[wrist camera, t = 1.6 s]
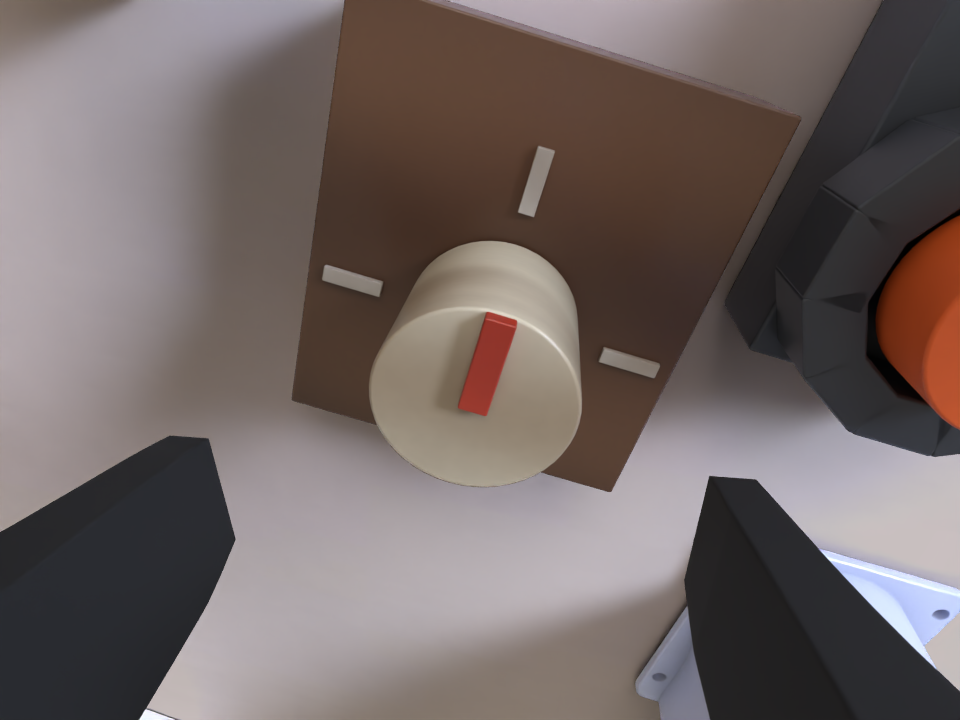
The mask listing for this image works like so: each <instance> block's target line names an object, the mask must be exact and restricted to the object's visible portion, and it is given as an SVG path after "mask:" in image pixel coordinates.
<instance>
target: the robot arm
mask: <svg viewBox="0 0 960 720" xmlns="http://www.w3.org/2000/svg"><path fill="white" fill-rule="evenodd" d="M234 542H235V535H234V532H233V528H232V524H231V520H230V517H229V513H228V509H227V505H226V502H225V498H224V494H223V491H222V487H221V483H220V479H219V476H218V472H217V468H216V464H215V461H214V457H213V453H212V449H211V446H210V442H209V439H208V438H194V437H181V436H168V437H166V438H164V439H162V440H160V441H158V442H156V443H154V444H152V445H151V446H149V447H147V448H145V449H143V450H141V451H140V452H138V453H136V454H134V455H132V456H131V457H129V458H127V459H125V460H124V461H122V462H120V463H118V464H117V465H115V466H113V467H112V468H110V469H108V470H106V471H105V472H103V473H101V474H100V475H98V476H96V477H95V478H93V479H91V480H89V481H88V482H86V483H84V484H83V485H81V486H79V487H78V488H76V489H74V490H72V491H71V492H69V493H67V494H66V495H64V496H62V497H60V498H59V499H57V500H55V501H53V502H52V503H50V504H48V505H47V506H45V507H43V508H41V509H40V510H38V511H36V512H35V513H33V514H31V515H29V516H28V517H26V518H24V519H23V520H21V521H19V522H17V523H16V524H14V525H12V526H10V527H9V528H7V529H5V530H3V531H1V532H0V720H139V719H140V718H141V716H142V714H143V713H144V711H145V709H146V708H147V706H148V704H149V703H150V701H151V699H152V697H153V696H154V694H155V692H156V691H157V689H158V687H159V686H160V684H161V682H162V681H163V679H164V677H165V676H166V674H167V672H168V671H169V669H170V667H171V666H172V664H173V662H174V661H175V659H176V657H177V656H178V654H179V652H180V651H181V649H182V647H183V645H184V644H185V642H186V640H187V639H188V637H189V635H190V633H191V632H192V630H193V628H194V627H195V625H196V623H197V622H198V620H199V618H200V616H201V615H202V613H203V611H204V609H205V607H206V606H207V604H208V602H209V600H210V598H211V595H212V593H213V591H214V589H215V587H216V584H217V582H218V580H219V578H220V576H221V573H222V571H223V569H224V566H225V564H226V561H227V559H228V556H229V554H230V552H231V549H232V547H233V544H234ZM684 582H685V590H686V599H687V607H686V608H685V610H684V611H683V613H682V614H681V615H680V617H679V618H678V620H677V621H676V623H675V624H674V626H673V627H672V629H671V630H670V632H669V633H668V634H667V636H666V637H665V639H664V640H663V642H662V643H661V645H660V646H659V648H658V649H657V650H656V652H655V653H654V655H653V656H652V658H651V659H650V661H649V662H648V664H647V665H646V666H645V668H644V669H643V671H642V672H641V674H640V675H639V677H638V678H637V680H636V682H635V684H636V691H637V693H638V694H639V695H640V696H642V697H644V698H648V699H651V700H655V701H658V702H659V709H660V716H661V720H960V691H959V690H958V689H957V688H956V687H954V686H953V685H952V684H951V683H950V682H949V681H948V680H947V679H946V678H945V677H944V676H943V675H942V674H941V673H940V672H939V671H938V670H937V669H936V667H935V665H934V664H933V662H932V660H931V658H930V657H929V655H928V653H927V651H926V650H925V648H924V646H925V645H926V644H927V643H928V642H929V641H930V640H931V639H932V638H933V637H934V636H935V635H936V634H937V633H938V632H939V631H940V630H941V629H942V628H943V627H945V626H946V625H947V624H948V623H949V622H950V621H951V620H952V619H953V618H954V617H955V616H956V615H957V614H958V613H959V612H960V591H959V590H958V589H956V588H954V587H951V586H947V585H944V584H940V583H937V582H933V581H930V580H926V579H923V578H919V577H916V576H912V575H909V574H906V573H902V572H899V571H895V570H892V569H888V568H885V567H881V566H878V565H874V564H871V563H867V562H864V561H860V560H857V559H854V558H850V557H847V556H843V555H840V554H836V553H833V552H829V551H826V550H822V549H819V548H817V546H816V545H815V544H814V543H813V542H812V541H811V540H810V539H809V538H808V537H807V535H806V534H805V533H804V532H803V531H802V530H801V529H800V528H799V527H798V525H797V524H796V523H795V522H794V521H793V520H792V519H791V518H790V517H789V515H788V514H787V513H786V512H785V511H784V510H783V509H782V508H781V507H780V505H779V504H778V503H777V502H776V501H775V500H774V499H773V498H772V497H771V495H770V494H769V493H768V492H767V491H766V490H765V489H764V488H763V487H762V486H761V485H760V483H759V482H758V481H757V480H755V479H742V478H728V477H715V476H709V480H708V484H707V488H706V492H705V497H704V501H703V505H702V509H701V513H700V517H699V521H698V526H697V530H696V534H695V538H694V542H693V546H692V550H691V555H690V559H689V563H688V567H687V571H686V575H685V579H684Z"/></svg>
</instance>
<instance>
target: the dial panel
mask: <svg viewBox="0 0 960 720" xmlns="http://www.w3.org/2000/svg"><path fill="white" fill-rule="evenodd" d="M800 121H801V117H800V116H798V115H796V114H794V113H791V112H789V111H787V110H785V109H782V108H780V107H778V106H775V105H773V104H771V103H769V102H766V101H764V100H762V99H759V98H757V97H754V96H750V95H747V94H744V93H741V92H738V91H734V90H731V89H728V88H725V87H722V86H718V85H715V84H712V83H709V82H706V81H702V80H699V79H696V78H693V77H690V76H686V75H683V74H680V73H677V72H674V71H670V70H667V69H664V68H661V67H658V66H654V65H651V64H648V63H645V62H642V61H638V60H635V59H632V58H629V57H626V56H622V55H619V54H616V53H613V52H610V51H606V50H603V49H600V48H597V47H594V46H590V45H587V44H584V43H581V42H578V41H575V40H571V39H568V38H565V37H562V36H559V35H555V34H552V33H549V32H546V31H543V30H539V29H536V28H533V27H530V26H527V25H523V24H520V23H517V22H514V21H511V20H507V19H504V18H501V17H498V16H495V15H491V14H488V13H485V12H482V11H479V10H475V9H472V8H469V7H466V6H463V5H459V4H456V3H453V2H450V1H447V0H345V1H344V8H343V16H342V23H341V31H340V38H339V46H338V53H337V61H336V68H335V76H334V84H333V91H332V99H331V106H330V114H329V121H328V129H327V136H326V144H325V151H324V159H323V166H322V174H321V181H320V189H319V197H318V204H317V212H316V219H315V227H314V234H313V242H312V249H311V257H310V264H309V272H308V279H307V287H306V294H305V302H304V310H303V317H302V325H301V332H300V340H299V347H298V355H297V362H296V370H295V377H294V385H293V392H292V400H293V401H295V402H299V403H302V404H306V405H309V406H313V407H316V408H319V409H323V410H326V411H330V412H333V413H337V414H340V415H344V416H347V417H351V418H354V419H358V420H361V421H365V422H368V423H371V424H375V425H377V423H376V421H375V418H374V415H373V412H372V409H371V404H370V398H369V380H370V373H371V370H372V366H373V363H374V360H375V358H376V356H377V354H378V352H379V350H380V348H381V346H382V344H383V343H384V341H385V339H386V337H387V335H388V333H389V331H390V330H391V328H392V326H393V324H394V322H395V320H396V318H397V317H398V315H399V313H400V311H401V309H402V307H403V305H404V304H405V302H406V300H407V298H408V296H409V294H410V292H411V291H412V289H413V287H414V285H415V283H416V281H417V280H418V278H419V277H420V275H421V274H422V272H423V271H424V270H425V269H426V268H427V266H428V265H429V264H430V263H431V262H433V261H434V260H435V259H436V258H437V257H439V256H440V255H442V254H444V253H445V252H447V251H449V250H451V249H453V248H455V247H458V246H461V245H464V244H468V243H472V242H479V241H499V242H506V243H511V244H515V245H518V246H521V247H523V248H526V249H528V250H530V251H532V252H534V253H536V254H538V255H539V256H541V257H542V258H544V259H545V260H547V261H548V262H549V263H550V264H551V265H552V266H553V267H554V268H555V269H556V270H557V271H558V272H559V273H560V274H561V276H562V277H563V278H564V280H565V281H566V283H567V284H568V286H569V288H570V290H571V292H572V295H573V297H574V301H575V304H576V308H577V316H578V333H579V352H580V371H581V389H582V412H581V417H580V423H579V425H578V428H577V431H576V434H575V436H574V438H573V439H572V441H571V443H570V445H569V446H568V447H567V449H566V450H565V451H564V453H563V454H562V455H561V456H560V457H559V458H558V459H557V460H556V461H555V462H554V463H553V464H551V465H550V466H549V467H547V468H546V469H545V470H543V471H541V473H545V474H548V475H552V476H555V477H559V478H562V479H566V480H569V481H573V482H576V483H580V484H583V485H586V486H590V487H593V488H597V489H600V490H604V491H607V492H611V491H612V489H613V487H614V485H615V483H616V481H617V479H618V477H619V475H620V474H621V472H622V470H623V468H624V466H625V464H626V462H627V460H628V458H629V456H630V454H631V452H632V450H633V448H634V446H635V444H636V442H637V440H638V438H639V436H640V434H641V432H642V430H643V428H644V427H645V425H646V423H647V421H648V419H649V417H650V415H651V413H652V411H653V409H654V407H655V405H656V403H657V401H658V399H659V397H660V395H661V393H662V391H663V389H664V387H665V385H666V383H667V382H668V380H669V378H670V376H671V374H672V372H673V370H674V368H675V366H676V364H677V362H678V360H679V358H680V356H681V354H682V352H683V350H684V348H685V346H686V344H687V342H688V340H689V338H690V336H691V335H692V333H693V331H694V329H695V327H696V325H697V323H698V321H699V319H700V317H701V315H702V313H703V311H704V309H705V307H706V305H707V303H708V301H709V299H710V297H711V295H712V293H713V291H714V289H715V288H716V286H717V284H718V282H719V280H720V278H721V276H722V274H723V272H724V270H725V268H726V266H727V264H728V262H729V260H730V258H731V256H732V254H733V252H734V250H735V248H736V246H737V244H738V242H739V241H740V239H741V237H742V235H743V233H744V231H745V229H746V227H747V225H748V223H749V221H750V219H751V217H752V215H753V213H754V211H755V209H756V207H757V205H758V203H759V201H760V199H761V197H762V195H763V194H764V192H765V190H766V188H767V186H768V184H769V182H770V180H771V178H772V176H773V174H774V172H775V170H776V168H777V166H778V164H779V162H780V160H781V158H782V156H783V154H784V152H785V150H786V149H787V147H788V145H789V143H790V141H791V139H792V137H793V135H794V133H795V131H796V129H797V127H798V125H799V123H800Z"/></svg>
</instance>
